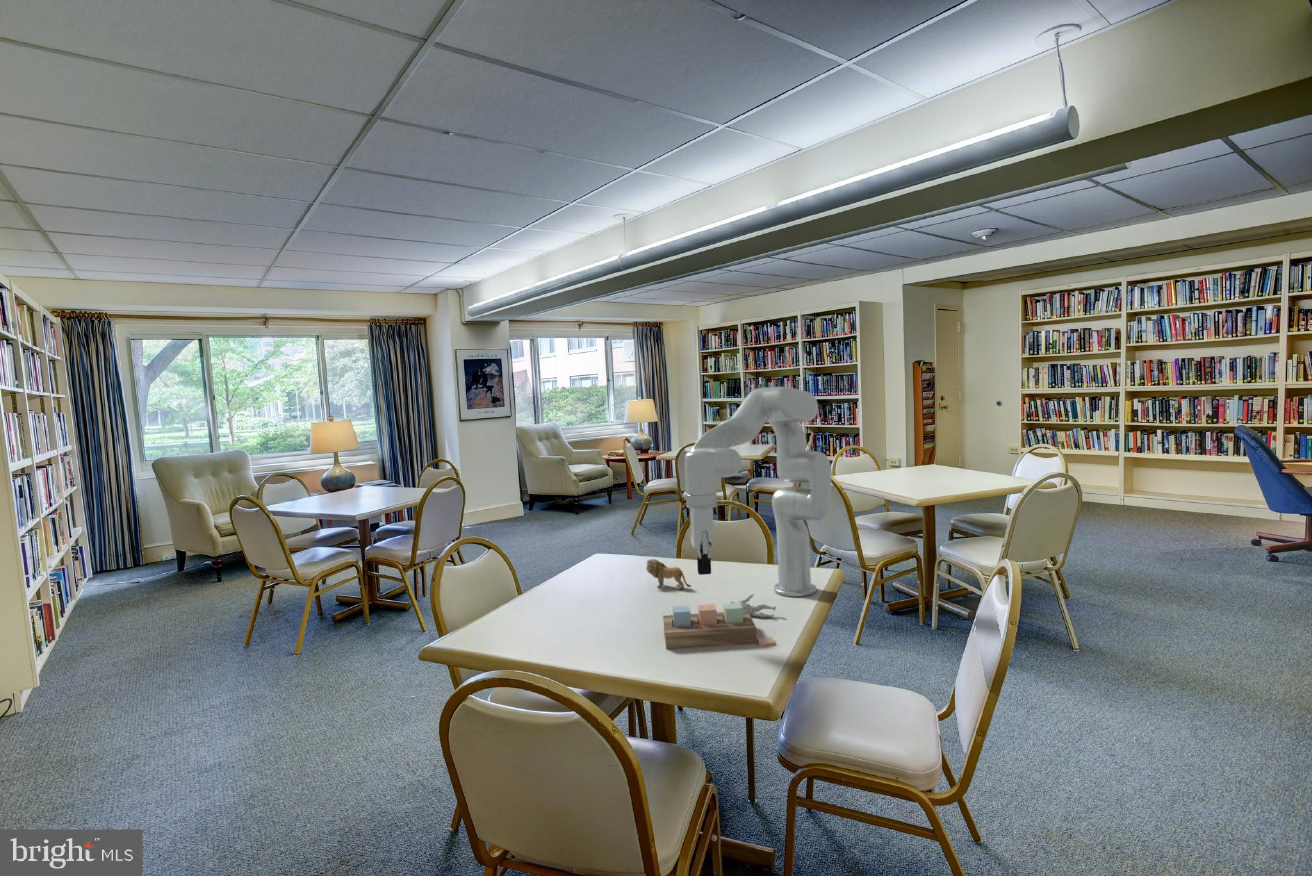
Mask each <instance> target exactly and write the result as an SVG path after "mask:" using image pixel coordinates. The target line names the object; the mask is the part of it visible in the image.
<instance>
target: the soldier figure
mask: <svg viewBox="0 0 1312 876" xmlns="http://www.w3.org/2000/svg"><path fill="white" fill-rule="evenodd" d="M754 595H755V593H752V594H750V595H749V596H748V597H746V598H745V599H742V600H739V601H738V603H740V604H741V606H742V608H743V611H744V610H747V611H748V613H749V615H750V616H751V615H752V616H751V617H754V616H755V617H757V618H758V617H760V618H771V619H774V616H775V615H774V614H767V613H764V612H762V611H763V610H772V611H776V609H777V606H776V605H774V606H770V605H767V604H758V605H757V606H754V605H750V603H748V602H749V601H751V599H752V598H753V597H754ZM730 603H736V602H735V601H730Z"/></svg>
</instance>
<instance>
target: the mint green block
mask: <svg viewBox="0 0 1312 876" xmlns="http://www.w3.org/2000/svg"><path fill="white" fill-rule="evenodd" d="M723 612H724V622H725V624H727V623H742V622H743V608H742V606H741V604H740V603H739V602H735V603H731V602H728V603H723Z"/></svg>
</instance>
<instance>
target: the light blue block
mask: <svg viewBox="0 0 1312 876" xmlns="http://www.w3.org/2000/svg"><path fill="white" fill-rule="evenodd" d="M691 614H692V612H691V609H690V605H681V606H672V615H673V624H674V627H681V626H691Z"/></svg>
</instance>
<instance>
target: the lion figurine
mask: <svg viewBox="0 0 1312 876" xmlns="http://www.w3.org/2000/svg"><path fill="white" fill-rule="evenodd" d="M645 569H646V571H647V573H649V574H650V575H651V576H653V578H656V579H657V582H658V583H659V584H658V585H657V588H658V589H661V588H662V587H663V585H664V581H665V580H664V579H673V578H674V581H675V582H677V584H676V587H677V586H679V590H680V589H683V590H684V589H685V585H686V587H688V588H691V587H692V585H690V584H688V583H687V581H686V578H685V575H684V573H683V571H682V569H681V568H680V567H678V566H674V567H673V566H672V567H669V566H666V565H665V563H663V562H661V561H659V560H657V559H656V558H655V559H654V558H650V559H648V560H647V561H646V568H645ZM682 580H683V581H682ZM684 583H685V585H684ZM660 587H661V588H660Z"/></svg>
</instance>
